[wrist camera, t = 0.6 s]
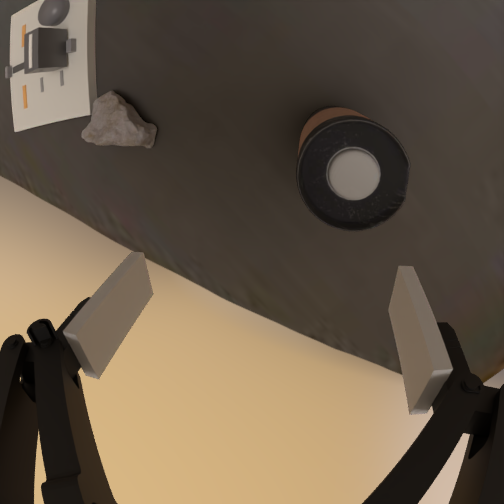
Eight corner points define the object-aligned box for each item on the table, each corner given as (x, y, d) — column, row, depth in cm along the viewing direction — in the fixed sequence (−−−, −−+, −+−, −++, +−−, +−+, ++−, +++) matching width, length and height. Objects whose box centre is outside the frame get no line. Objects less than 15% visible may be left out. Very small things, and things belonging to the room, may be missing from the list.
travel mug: (288, 131, 37) (268, 171, 20) (334, 91, 33) (361, 91, 16) (330, 177, 39) (346, 254, 21) (376, 139, 35) (434, 187, 18)
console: (19, 16, 31) (3, 15, 28) (97, -22, 28) (81, -27, 25) (22, 129, 42) (6, 135, 38) (98, 112, 39) (81, 116, 35)
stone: (108, 87, 37) (83, 89, 32) (168, 102, 37) (148, 105, 32) (96, 139, 41) (73, 148, 36) (153, 158, 41) (133, 169, 36)
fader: (52, 35, 31) (23, 34, 26) (66, 29, 31) (37, 27, 25) (52, 71, 34) (23, 74, 29) (66, 66, 33) (37, 68, 28)
